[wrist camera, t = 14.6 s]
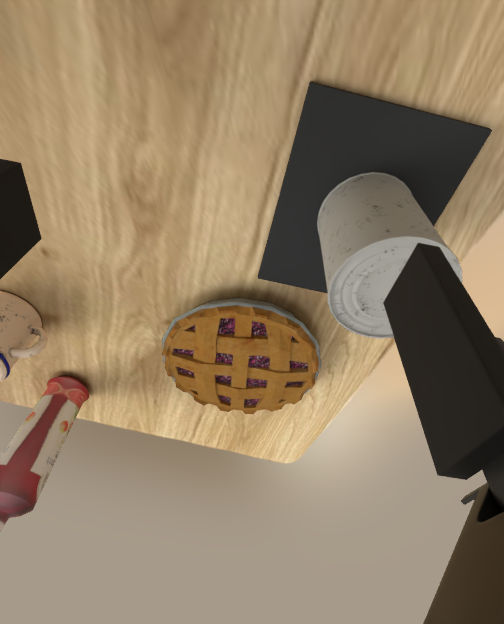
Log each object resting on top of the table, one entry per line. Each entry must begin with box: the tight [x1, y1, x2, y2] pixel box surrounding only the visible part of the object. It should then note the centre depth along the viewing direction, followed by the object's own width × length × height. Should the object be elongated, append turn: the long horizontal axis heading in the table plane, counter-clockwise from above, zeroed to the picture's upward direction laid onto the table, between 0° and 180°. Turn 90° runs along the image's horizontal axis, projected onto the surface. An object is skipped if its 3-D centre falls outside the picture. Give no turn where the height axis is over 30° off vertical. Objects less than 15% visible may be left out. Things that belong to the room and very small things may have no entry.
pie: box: [162, 298, 321, 414], centre depth 48 cm, size 22×22×5 cm
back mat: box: [258, 82, 492, 293], centre depth 35 cm, size 20×16×1 cm
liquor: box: [0, 376, 89, 531], centre depth 48 cm, size 7×7×28 cm
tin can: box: [317, 172, 462, 338], centre depth 31 cm, size 10×10×12 cm
